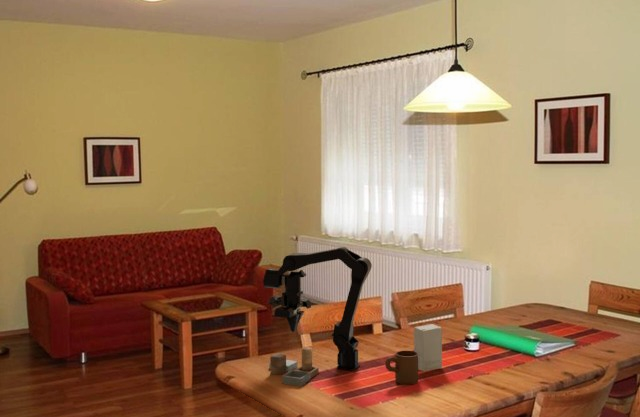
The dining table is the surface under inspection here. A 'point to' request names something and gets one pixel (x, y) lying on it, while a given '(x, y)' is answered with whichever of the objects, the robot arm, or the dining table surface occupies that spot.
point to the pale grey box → (290, 365)
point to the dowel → (307, 359)
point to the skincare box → (428, 346)
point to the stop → (278, 364)
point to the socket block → (314, 371)
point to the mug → (404, 367)
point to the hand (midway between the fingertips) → (293, 331)
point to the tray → (296, 377)
